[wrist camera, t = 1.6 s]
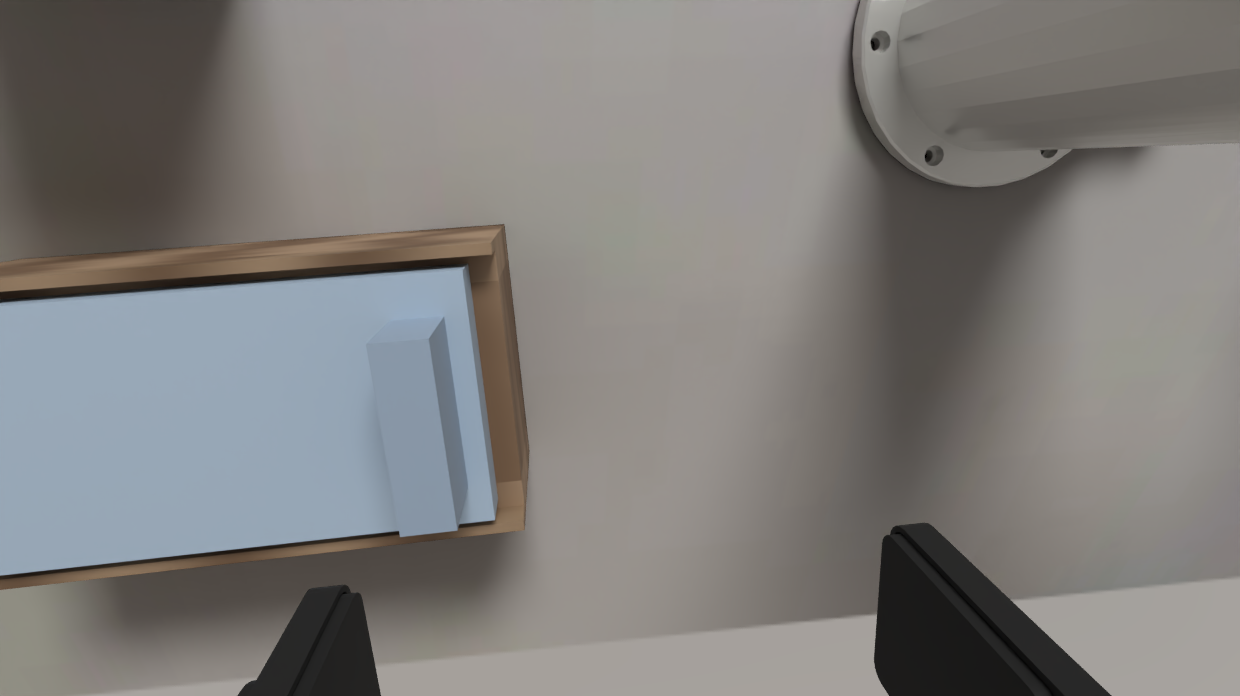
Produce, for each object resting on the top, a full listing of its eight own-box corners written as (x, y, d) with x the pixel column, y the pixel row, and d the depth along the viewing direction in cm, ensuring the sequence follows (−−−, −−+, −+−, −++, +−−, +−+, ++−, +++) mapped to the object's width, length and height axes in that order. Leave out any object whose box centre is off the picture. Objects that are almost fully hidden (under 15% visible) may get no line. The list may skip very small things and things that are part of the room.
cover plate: (468, 263, 23) (449, 286, 19) (498, 499, 26) (487, 567, 21) (-81, 305, 21) (-244, 341, 17) (10, 552, 24) (-110, 638, 20)
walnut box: (504, 224, 29) (491, 242, 22) (529, 450, 32) (524, 530, 25) (20, 259, 27) (-162, 291, 20) (96, 495, 30) (-40, 594, 23)
